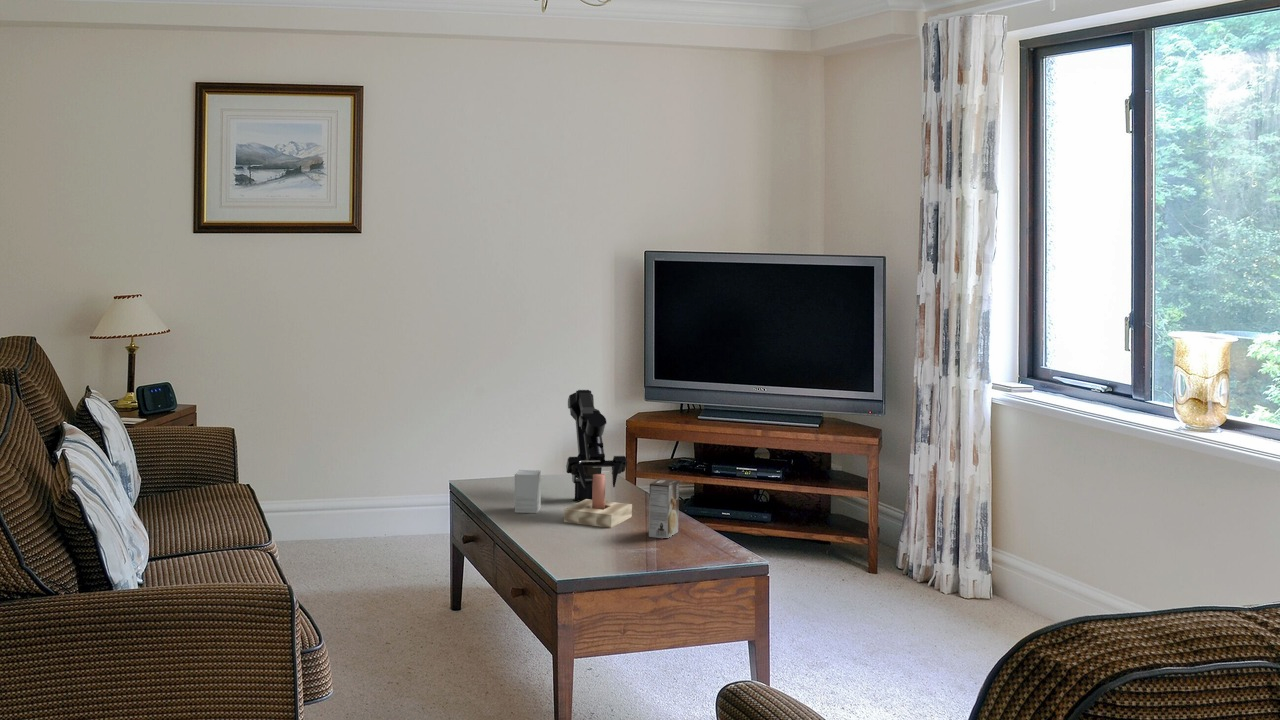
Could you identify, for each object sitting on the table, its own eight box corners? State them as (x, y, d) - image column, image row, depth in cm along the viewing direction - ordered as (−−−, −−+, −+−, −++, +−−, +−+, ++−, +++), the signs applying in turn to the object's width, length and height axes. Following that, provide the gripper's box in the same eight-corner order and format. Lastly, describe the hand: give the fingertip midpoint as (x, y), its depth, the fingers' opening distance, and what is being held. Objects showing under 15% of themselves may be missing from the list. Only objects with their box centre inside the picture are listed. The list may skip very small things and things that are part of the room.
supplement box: (541, 508, 354) (541, 470, 353) (536, 513, 347) (537, 474, 346) (518, 507, 355) (519, 469, 354) (513, 512, 348) (514, 473, 347)
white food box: (658, 529, 330) (660, 477, 329) (678, 532, 328) (680, 479, 326) (647, 537, 322) (649, 483, 320) (668, 539, 319) (669, 485, 318)
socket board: (563, 521, 337) (564, 509, 337) (586, 511, 352) (586, 498, 352) (611, 527, 331) (611, 515, 331) (631, 516, 346) (632, 504, 346)
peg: (589, 519, 341) (590, 475, 340) (597, 517, 344) (598, 473, 343) (598, 521, 339) (599, 477, 338) (607, 519, 342) (608, 475, 341)
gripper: (618, 459, 357) (624, 500, 347) (562, 460, 353) (566, 501, 343) (624, 439, 349) (630, 480, 339) (566, 440, 345) (571, 482, 335)
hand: (599, 487), depth 339 cm, fingers open, 9 cm apart
